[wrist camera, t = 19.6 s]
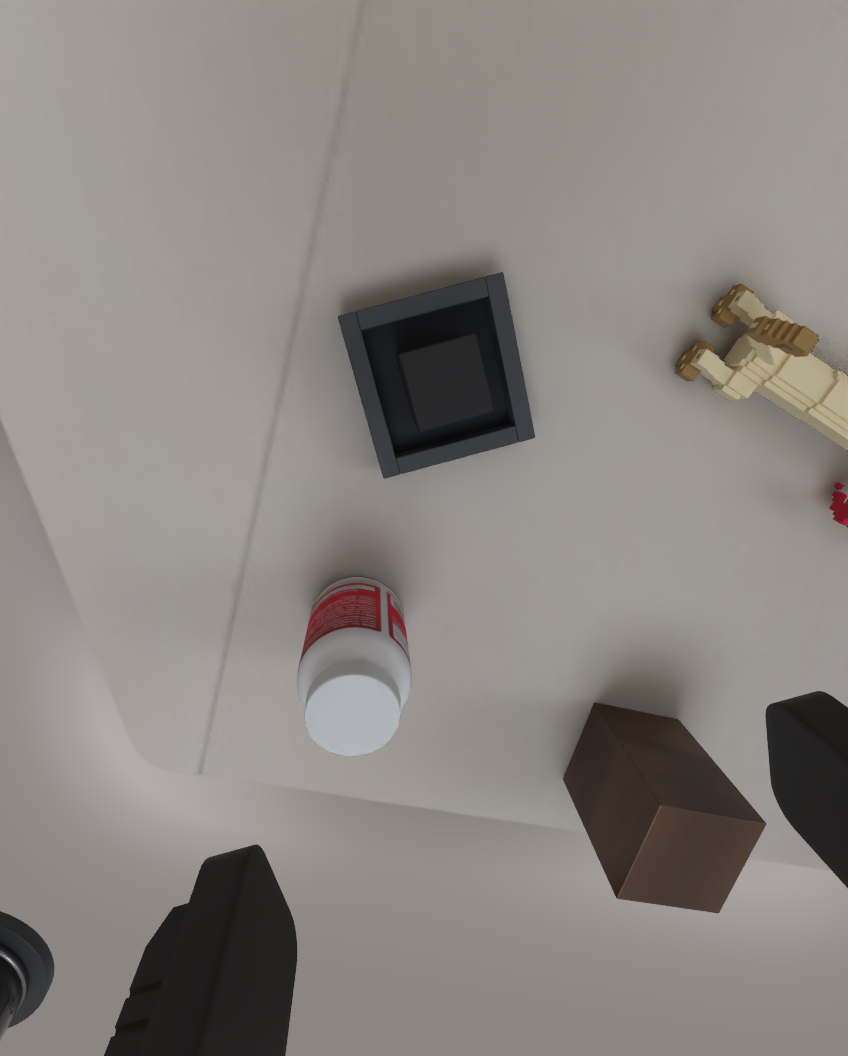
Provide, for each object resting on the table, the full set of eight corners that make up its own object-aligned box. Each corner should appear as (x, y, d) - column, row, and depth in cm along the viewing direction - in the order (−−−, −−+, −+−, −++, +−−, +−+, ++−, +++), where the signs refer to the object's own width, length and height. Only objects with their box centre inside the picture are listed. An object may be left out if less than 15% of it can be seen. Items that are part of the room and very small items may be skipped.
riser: (562, 779, 43) (616, 899, 34) (594, 702, 42) (660, 804, 32) (644, 794, 44) (719, 913, 35) (679, 719, 43) (767, 823, 33)
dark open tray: (383, 471, 35) (383, 478, 33) (339, 318, 32) (337, 316, 30) (525, 432, 35) (535, 438, 33) (494, 277, 33) (503, 271, 30)
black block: (413, 422, 34) (419, 431, 29) (395, 354, 33) (398, 354, 28) (478, 404, 34) (493, 411, 29) (462, 336, 33) (476, 332, 28)
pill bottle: (293, 627, 38) (262, 732, 27) (345, 556, 37) (334, 637, 26) (369, 673, 39) (368, 789, 29) (422, 606, 38) (441, 701, 28)
